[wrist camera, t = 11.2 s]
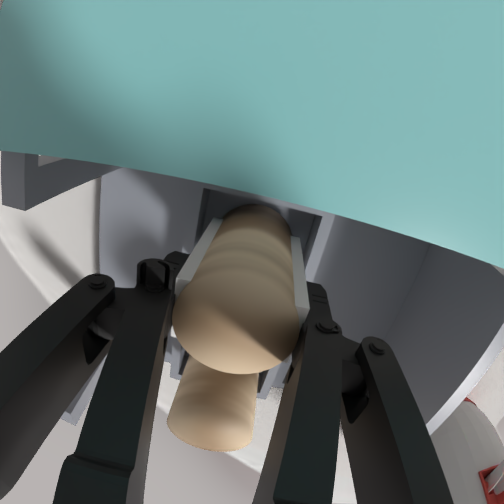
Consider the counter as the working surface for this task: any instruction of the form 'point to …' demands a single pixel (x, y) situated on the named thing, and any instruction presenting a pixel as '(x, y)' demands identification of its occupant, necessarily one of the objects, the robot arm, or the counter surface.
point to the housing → (316, 270)
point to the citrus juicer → (471, 456)
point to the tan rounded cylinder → (241, 295)
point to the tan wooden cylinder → (213, 408)
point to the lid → (277, 102)
